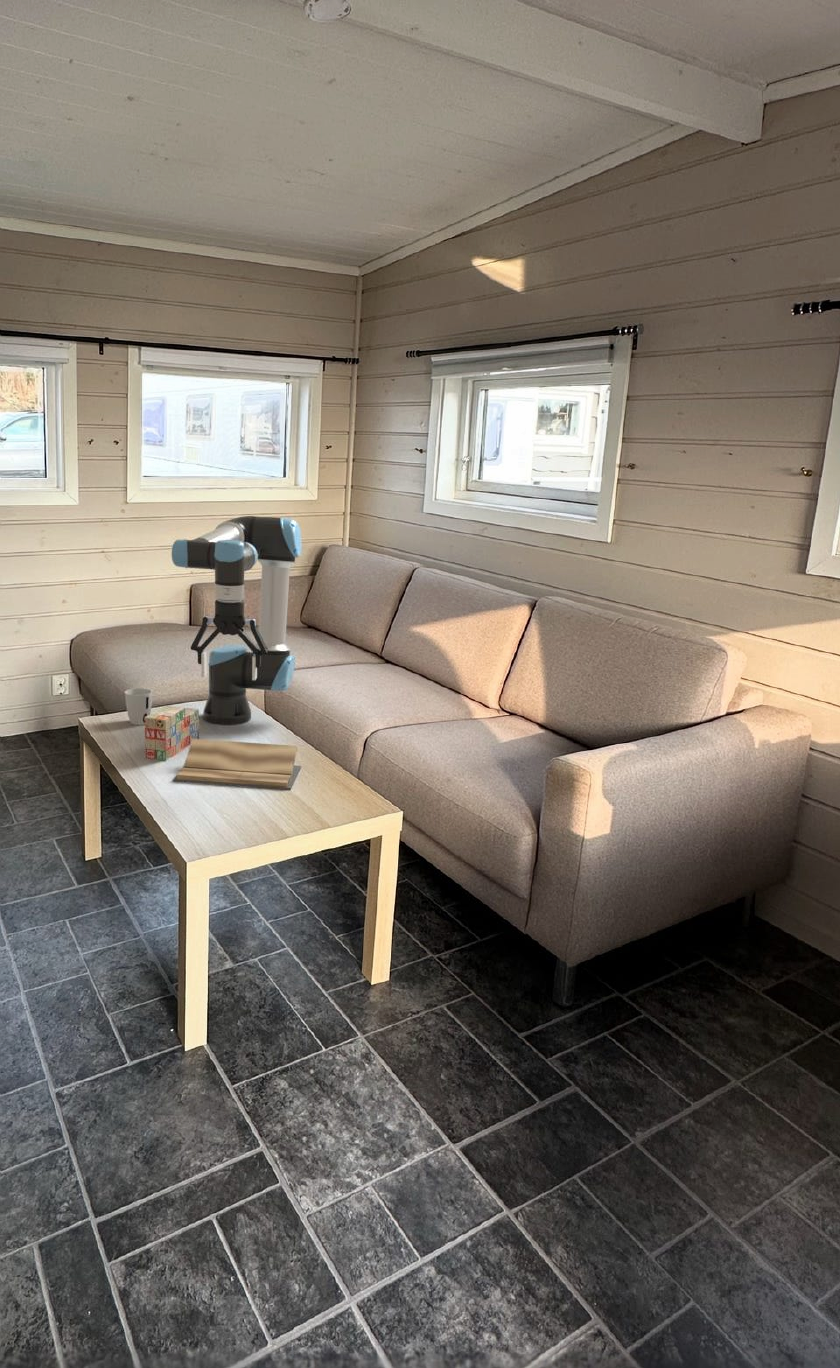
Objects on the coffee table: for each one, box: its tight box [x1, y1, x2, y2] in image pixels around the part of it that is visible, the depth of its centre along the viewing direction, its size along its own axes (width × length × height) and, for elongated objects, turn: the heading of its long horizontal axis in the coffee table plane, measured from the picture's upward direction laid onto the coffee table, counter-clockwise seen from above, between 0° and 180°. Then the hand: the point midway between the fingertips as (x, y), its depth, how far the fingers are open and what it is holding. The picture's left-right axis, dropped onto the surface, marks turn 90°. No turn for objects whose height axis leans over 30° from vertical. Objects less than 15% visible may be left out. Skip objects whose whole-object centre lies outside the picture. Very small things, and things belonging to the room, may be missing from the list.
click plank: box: [183, 738, 298, 777], centre depth 247 cm, size 10×29×1 cm
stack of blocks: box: [144, 705, 200, 762], centre depth 261 cm, size 21×6×12 cm, turn 168°
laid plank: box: [176, 767, 291, 787], centre depth 240 cm, size 6×29×1 cm, turn 88°
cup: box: [124, 687, 153, 726], centre depth 282 cm, size 8×8×10 cm
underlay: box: [172, 764, 302, 791], centre depth 245 cm, size 17×31×1 cm, turn 88°
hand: (229, 677), depth 245 cm, fingers open, 13 cm apart
